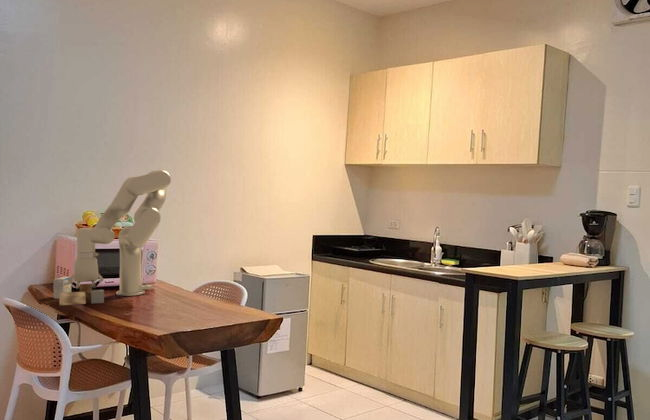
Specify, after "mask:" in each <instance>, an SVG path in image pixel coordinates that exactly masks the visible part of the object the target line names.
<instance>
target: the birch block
mask: <svg viewBox="0 0 650 420" xmlns="http://www.w3.org/2000/svg"><path fill="white" fill-rule="evenodd" d="M86 301H87V299H86V295H85V292H76V291H71V292H67V293H60V299H59V306H71V305H72V306H73V305H85V304H86V303H87V302H86Z"/></svg>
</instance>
